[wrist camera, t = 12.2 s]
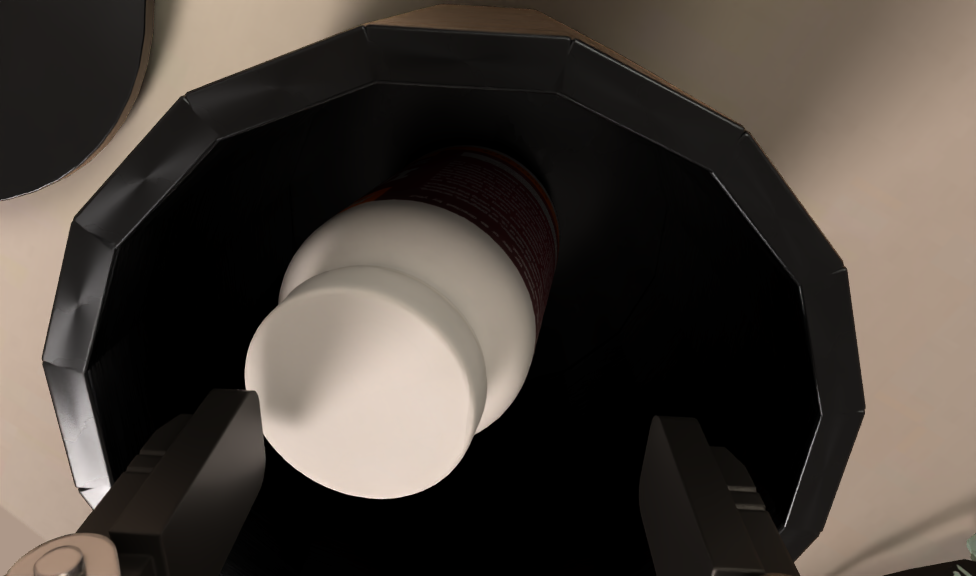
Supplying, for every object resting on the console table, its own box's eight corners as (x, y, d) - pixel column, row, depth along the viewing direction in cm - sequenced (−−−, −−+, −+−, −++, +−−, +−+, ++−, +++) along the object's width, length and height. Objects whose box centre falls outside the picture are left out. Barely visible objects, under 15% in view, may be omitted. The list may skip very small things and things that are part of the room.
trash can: (254, -9, 20) (-60, -3, 9) (721, 20, 20) (993, 62, 9) (288, 386, 26) (126, 685, 15) (647, 407, 27) (754, 722, 15)
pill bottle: (425, 108, 21) (256, 181, 11) (594, 194, 21) (579, 345, 11) (360, 266, 24) (174, 443, 14) (512, 343, 24) (438, 575, 14)
